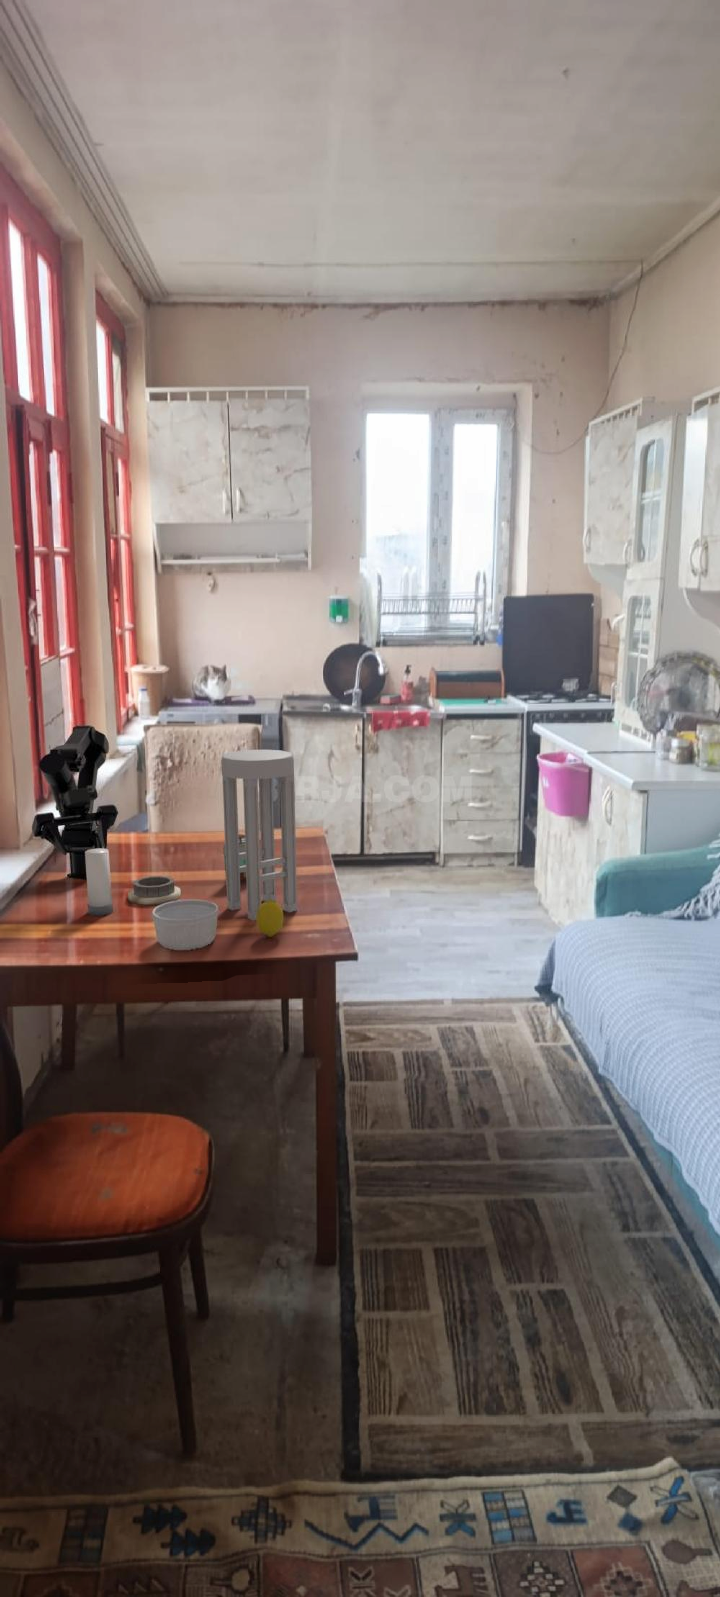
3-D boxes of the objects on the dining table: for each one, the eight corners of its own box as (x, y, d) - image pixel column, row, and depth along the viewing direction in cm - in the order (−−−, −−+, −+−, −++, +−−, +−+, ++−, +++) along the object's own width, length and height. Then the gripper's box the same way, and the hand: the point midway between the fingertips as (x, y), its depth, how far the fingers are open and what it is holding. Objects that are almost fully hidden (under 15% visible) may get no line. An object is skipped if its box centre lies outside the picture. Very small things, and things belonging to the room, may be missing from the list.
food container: (248, 887, 239) (247, 846, 237) (224, 885, 240) (222, 845, 238) (263, 873, 250) (262, 834, 248) (240, 872, 252) (239, 833, 250)
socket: (117, 901, 228) (117, 885, 227) (147, 887, 239) (146, 872, 238) (162, 906, 224) (162, 891, 223) (190, 892, 235) (189, 877, 234)
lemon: (257, 933, 206) (256, 896, 204) (283, 932, 206) (283, 895, 205) (256, 942, 200) (255, 904, 199) (284, 941, 201) (283, 903, 199)
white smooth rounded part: (83, 914, 219) (78, 853, 216) (97, 907, 224) (94, 847, 221) (103, 917, 217) (99, 855, 214) (118, 909, 222) (114, 849, 219)
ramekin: (182, 958, 192) (180, 923, 191) (140, 943, 201) (138, 910, 199) (232, 940, 202) (231, 907, 201) (190, 926, 210) (189, 895, 209)
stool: (214, 907, 223) (208, 753, 216) (273, 894, 232) (269, 746, 225) (249, 925, 211) (244, 762, 204) (310, 911, 220) (307, 755, 213)
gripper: (31, 779, 219) (50, 836, 212) (112, 770, 229) (133, 825, 223) (23, 807, 227) (42, 864, 220) (102, 798, 237) (122, 852, 231)
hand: (86, 850), depth 223 cm, fingers open, 9 cm apart
